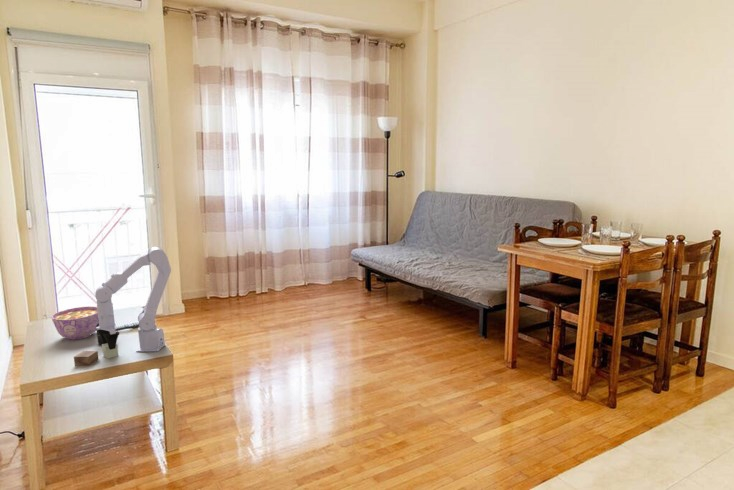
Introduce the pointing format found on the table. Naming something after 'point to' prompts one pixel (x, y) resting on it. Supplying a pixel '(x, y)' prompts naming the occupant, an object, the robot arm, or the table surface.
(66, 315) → the bowl of food
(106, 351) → the sage block
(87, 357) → the walnut block
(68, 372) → the table surface
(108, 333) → the robot arm
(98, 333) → the supplement bottle
